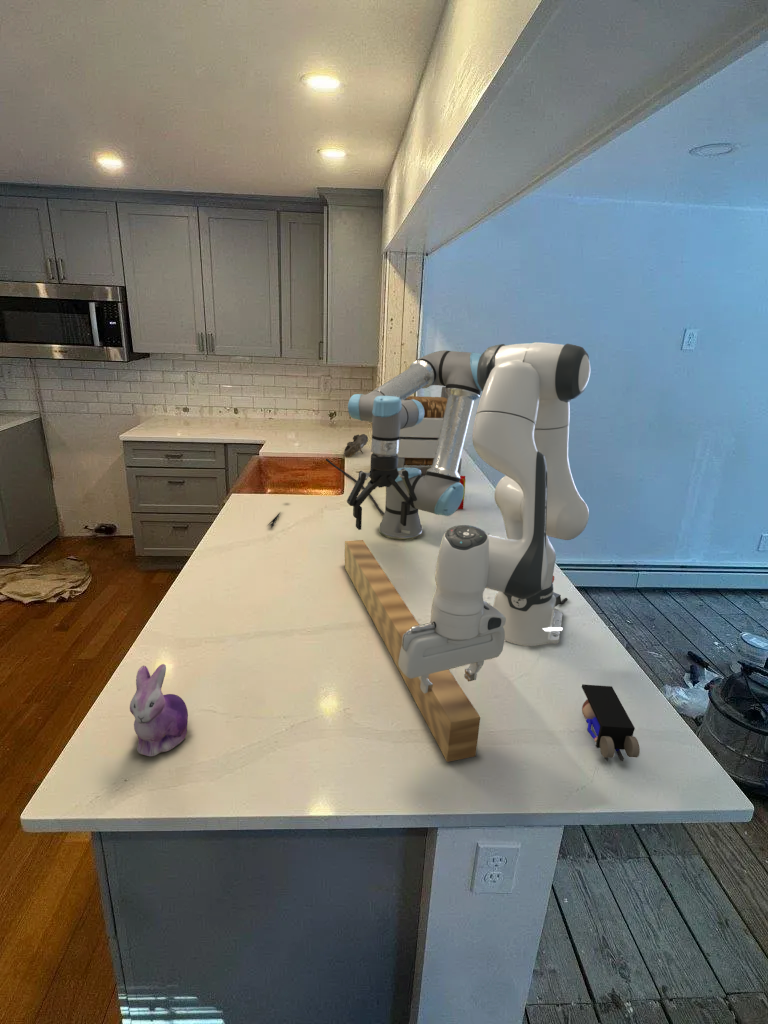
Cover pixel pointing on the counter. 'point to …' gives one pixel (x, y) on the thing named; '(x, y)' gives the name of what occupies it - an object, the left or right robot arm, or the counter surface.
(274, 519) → the feather
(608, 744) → the figurine character
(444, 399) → the grey boxy frame
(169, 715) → the figurine
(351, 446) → the fossil
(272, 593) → the counter surface
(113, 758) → the counter surface
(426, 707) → the post
